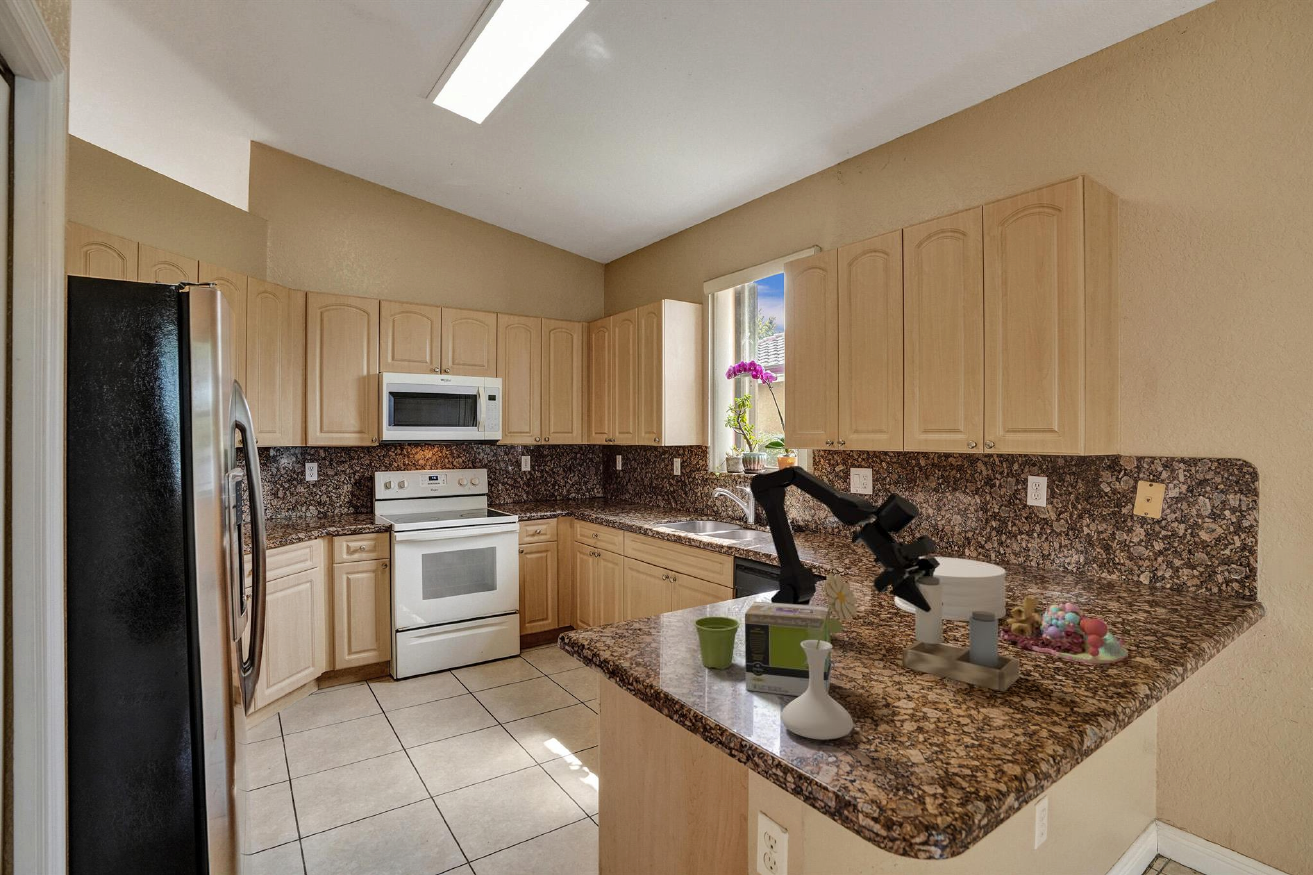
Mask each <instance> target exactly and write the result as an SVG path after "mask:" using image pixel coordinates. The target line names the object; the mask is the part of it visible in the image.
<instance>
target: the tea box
mask: <svg viewBox="0 0 1313 875" xmlns="http://www.w3.org/2000/svg"><path fill="white" fill-rule="evenodd" d="M828 609H829V606H828V605H827V606H826V605H814V604H813V605H810V604H809V605H798V604H784V603H772V602H766V601H754V602H753V603H752V604H751V606H750V607H749V608H748V609H747V610H746V611H745V613H744V648H745V649H744V660H745V663H744V664H745V665H744V666H745V689H746V690H745V691H752V692H760V693H761V692H762V693H769V694H777V695H787V696H795V697H799V696H801V695H802V694H803V693H805V692H806V691H807V689H808V686H809V664H808V659H807V656H806V653H805V651H804V649H803V648H802V646H801V642H803V641H806V640H818V638H819V635H814V634H811V633H808V632H807V628H808V625H809V626H811V627H812V628H814V629H816V630H820V631H821V629H822V626H823V624H824V620H825V617H826V614H827V611H828ZM830 612H831V611H830ZM830 612H829V614H828V617H827V621H828V619H829V618H831V613H830ZM827 621H826V622H827ZM820 641H825V642H828V643H830V644H831V631H829V630H828V628H827V627H826V624H825V627H824V630H823V634H822V636H821V639H820ZM831 650H832V649H831ZM831 650H830V651H829V653H828V654H827V657H826V660H825V665H824V688H825V690H826V692H827V694H828V695H829V691H830V690H829V689H830V685H831V679H832V676H831V675H832V665H831V664H832V656H831V655H832V654H831Z"/></svg>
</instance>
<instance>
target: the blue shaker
mask: <svg viewBox="0 0 1313 875" xmlns="http://www.w3.org/2000/svg"><path fill="white" fill-rule="evenodd" d="M968 622H969V625H968V627H969V628H968V629H969V631H968V634H969V636H968V637H969V639H968V641H969V643H968V646H969V648H968V649H969V663H971V664H975V665H980V666H984V667H988V668H993V669H997V670H998V655H999V620H998V619H995V614H993V613H990V612H984V611H974V612H972V616H970V617H969V621H968Z"/></svg>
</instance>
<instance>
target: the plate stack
mask: <svg viewBox="0 0 1313 875" xmlns="http://www.w3.org/2000/svg"><path fill="white" fill-rule="evenodd" d="M924 557H925V556H920V557H919V558H920V559H921V558H924ZM933 557H934V558H935V559H936V560H937V561H938V562H939V563H940V565H939V566H938V567H937V568H936V569H935V572H934V574H933V577H937V578H939V579H940V583H942V602H943V606H942V620H946V621H955V622H957V621H958V622H959V621H960V622H969V617H970V616H972V612H974V611H984V612H990V613H993V614H995V619H997V620H998V619H1001V618H1004V617H1005V616H1006V615H1007V614H1006V612H1007V611H1006V605H1007V603H1006V602H1007V600H1006V595H1007V594H1006V593H1007V592H1006V591H1007V590H1006V588H1005V587H1006V585H1007V584H1006V583H1007V582H1006V579H1005V578H1006V576H1007V571H1006V570H1005V568H1003V567H1001V566H999V565H996V564H993V563H988V562H983V561H978V560H974V559H966V558H956V557H945V556H943V557H942V556H940V557H939V556H933ZM894 605H895V606H896V607H898V608H899V609H900V610H903V611H904V612H908V613H911V614H915V606H914V605H913V604H911V603H909V602H907V601H905V600H903V599H901V598H899V597H897V596H894Z"/></svg>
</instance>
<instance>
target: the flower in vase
mask: <svg viewBox="0 0 1313 875" xmlns="http://www.w3.org/2000/svg"><path fill="white" fill-rule="evenodd" d="M823 591H824V598H825V599H826V600H827V601H826V605H827V607H829V609H828V611H827V614H826V617H825V620H824V624H823V626H822V629H821V631H820V630H816V629H814V628H812V627H811V626H809V625H808V628H807V632H808V633H811V634H814V635H819V638H818V640H806V641H803V642H801V646H802V648H803V649H804V651H805V653H806V656H807V659H808V664H809V686H808V689H807V691H806V692H805V693H803V694H802V695H801V696H797V697H796V698H795V699H793V700H792V701H791V702H788V704H786V706H784V708H783V709H782V710H781V714H780V717H779V718H780V721H781V723H782V724H783V726H784V727H785V728H786V729H787V730H788V731H790V732H791V733H794V734H796V735H799V736H801V737H804V738H807V739H813V740H832V739H833V740H835V739H839V738H842V737H846V736H847V735H848V734H849V733H850V732H851V731H852V729H853V728H854V721H853V719H852V716H851V714H850V713H849V712H848V711H847V709H845V708H844V707H843V706H842V705H841V704H840V703H839V702H838V701H837V700H835V699H834V698H833V697H832V696H830V695H829V693H828V694H827V692H826V690H825V688H824V665H825V660H826V657H827V654H828V653H829V651H830V650H832V649H833V644H831V642H830V643H828V642H825V641H820V639H821V636H822V634H823V630H824V627H825V624H826V627H827V628H828V630H829V631H830V633H831V634H833V635H836V634H839V633H841V631H843V628H844V626H843V624H842V622H841V621H839V620H838V619H840V620H842V621H846V622H847V623H848V622H853V620H854V619H853V616H854V617H856V616H857V615H858V607H857V606H856V604H858V599H857V598H856V597H855V594H854V592H853V591H852V590H851V585H850V584H849V583H845V581H844V579H843V577H842V576H840V575H839V574H838V573H835V575H833V573H832V572H830V573H829V575H827V576H826V580H824V582H823ZM831 611H832V613H834V616H835V617H836V618H837V619H836V618H834V617H830V618H829V619H828V621H827V617H828V614H829V612H831ZM826 621H827V622H826Z"/></svg>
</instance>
